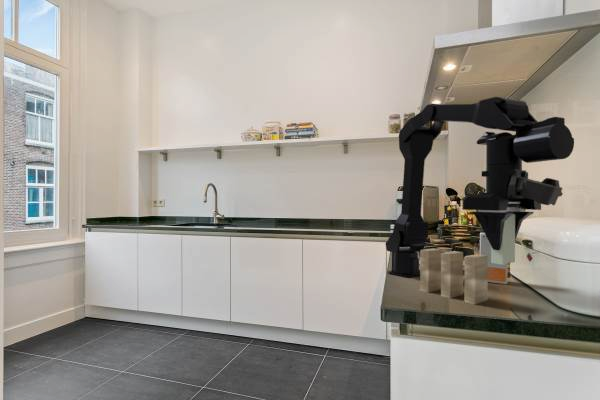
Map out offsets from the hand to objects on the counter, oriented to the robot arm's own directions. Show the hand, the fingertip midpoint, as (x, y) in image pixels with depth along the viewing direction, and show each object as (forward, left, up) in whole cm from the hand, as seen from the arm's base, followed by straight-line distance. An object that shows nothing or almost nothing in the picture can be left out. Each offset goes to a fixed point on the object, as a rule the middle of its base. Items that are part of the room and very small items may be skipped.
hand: (503, 248), depth 62 cm
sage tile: (0, 0, -2) cm, 2 cm away
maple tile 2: (-10, 0, -11) cm, 15 cm away
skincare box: (-11, +20, -11) cm, 26 cm away
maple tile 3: (-5, 0, -11) cm, 12 cm away
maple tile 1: (-15, 0, -11) cm, 19 cm away
